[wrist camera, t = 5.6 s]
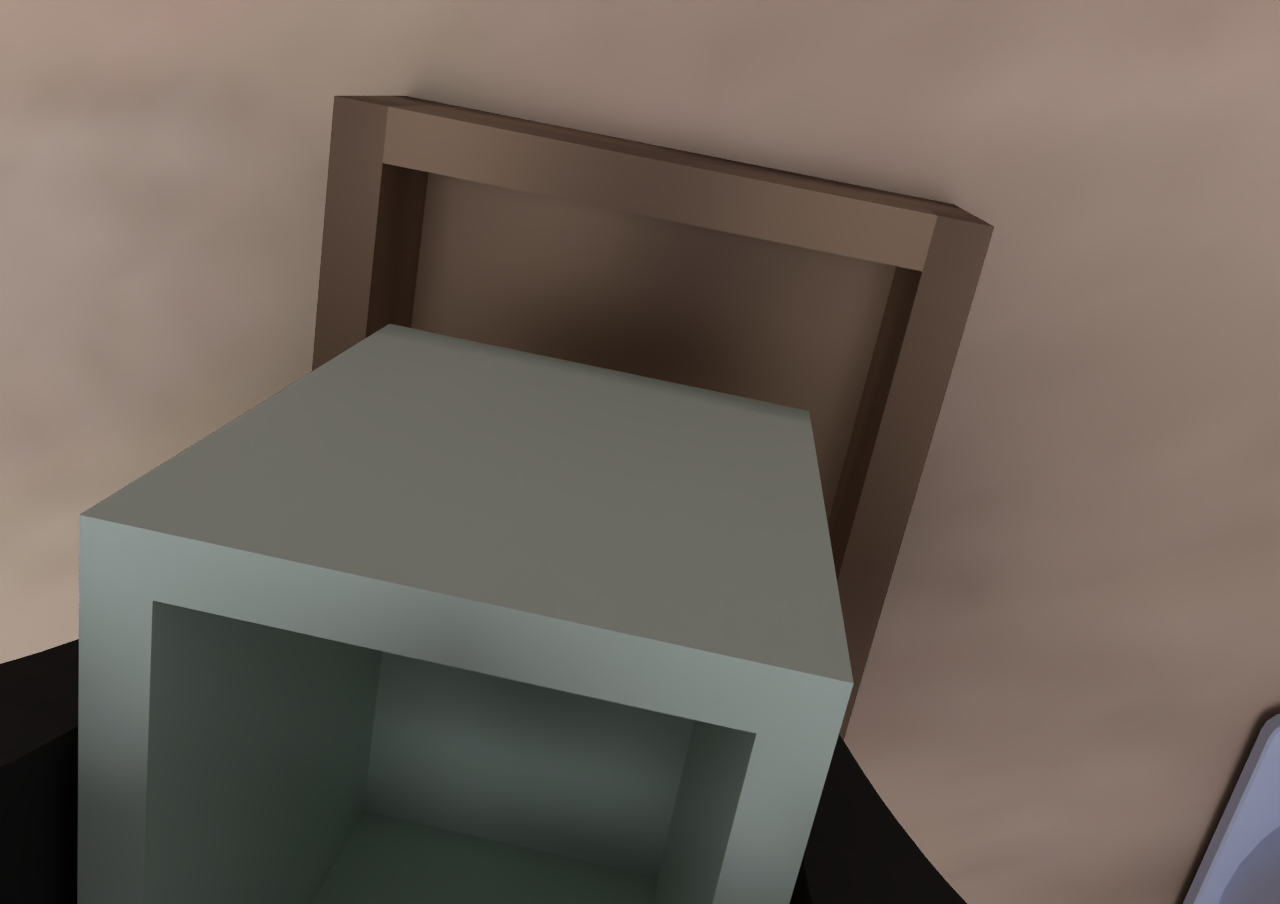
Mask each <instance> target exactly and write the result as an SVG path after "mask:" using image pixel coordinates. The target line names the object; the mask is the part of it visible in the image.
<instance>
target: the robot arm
mask: <svg viewBox="0 0 1280 904" xmlns="http://www.w3.org/2000/svg"><path fill="white" fill-rule="evenodd" d="M78 700H79V639H78V640H75V641H72V642H69V643H66V644H63V645H60V646H57V647H54V648H51V649H48V650H45V651H42V652H39V653H36V654H33V655H29V656H26V657H23V658H20V659H16V660H13V661H9V662H6V663H2V664H0V904H77V880H78ZM789 904H967V903H966V902H965V901H964V900H963V899H962V898H961V897H960V896H959V894H958V893H957V892H956V891H955V890H954V889H953V888H952V887H951V886H950V885H949V884H948V883H947V882H946V880H945V879H944V878H943V877H942V876H941V875H940V873H939V872H938V871H937V870H936V869H935V868H934V866H933V865H932V864H931V863H930V862H929V861H928V859H927V858H926V857H925V856H924V854H923V853H922V852H921V851H920V849H919V848H918V847H917V845H916V844H915V843H914V842H913V840H912V839H911V838H910V836H909V835H908V834H907V833H906V831H905V830H904V829H903V828H902V826H901V825H900V824H899V822H898V821H897V820H896V819H895V817H894V816H893V814H892V813H891V812H890V810H889V809H888V807H887V806H886V805H885V803H884V802H883V801H882V799H881V798H880V796H879V795H878V793H877V792H876V790H875V789H874V787H873V786H872V784H871V783H870V781H869V780H868V779H867V777H866V776H865V774H864V773H863V771H862V769H861V768H860V766H859V765H858V763H857V762H856V760H855V759H854V757H853V755H852V754H851V752H850V750H849V749H848V747H847V746H846V744H845V742H844V741H843V739H842V737H841V736H840V734H839V735H838V739H837V742H836V745H835V749H834V752H833V756H832V759H831V763H830V766H829V769H828V773H827V776H826V780H825V783H824V787H823V790H822V794H821V797H820V800H819V804H818V807H817V811H816V814H815V818H814V821H813V824H812V828H811V831H810V835H809V838H808V842H807V845H806V848H805V852H804V855H803V859H802V862H801V866H800V869H799V872H798V876H797V879H796V883H795V886H794V890H793V893H792V896H791V900H790V903H789ZM1183 904H1280V714H1277V715H1275V716H1274V717H1272V718H1271V719H1269V720H1268V721H1267V722H1266V723H1265V725H1264V726H1263V727H1262V729H1261V731H1260V733H1259V735H1258V738H1257V740H1256V742H1255V744H1254V746H1253V749H1252V751H1251V753H1250V755H1249V758H1248V760H1247V762H1246V764H1245V766H1244V769H1243V771H1242V773H1241V775H1240V778H1239V780H1238V782H1237V784H1236V787H1235V789H1234V791H1233V793H1232V795H1231V798H1230V800H1229V802H1228V804H1227V807H1226V809H1225V811H1224V813H1223V815H1222V818H1221V820H1220V822H1219V824H1218V827H1217V829H1216V831H1215V833H1214V836H1213V838H1212V840H1211V842H1210V844H1209V847H1208V849H1207V851H1206V853H1205V856H1204V858H1203V860H1202V862H1201V864H1200V867H1199V869H1198V871H1197V873H1196V876H1195V878H1194V880H1193V882H1192V884H1191V887H1190V889H1189V891H1188V893H1187V896H1186V898H1185V900H1184V902H1183Z"/></svg>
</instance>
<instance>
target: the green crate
mask: <svg viewBox="0 0 1280 904" xmlns="http://www.w3.org/2000/svg"><path fill="white" fill-rule="evenodd" d="M853 684H854V683H853V677H852V670H851V664H850V658H849V652H848V646H847V640H846V634H845V627H844V621H843V615H842V609H841V603H840V597H839V591H838V585H837V578H836V572H835V566H834V560H833V554H832V548H831V542H830V535H829V529H828V523H827V517H826V511H825V505H824V499H823V492H822V486H821V480H820V474H819V468H818V462H817V456H816V449H815V443H814V437H813V431H812V425H811V419H810V413H809V411H808V410H803V409H798V408H793V407H788V406H784V405H779V404H774V403H769V402H764V401H760V400H755V399H750V398H745V397H740V396H735V395H731V394H726V393H721V392H716V391H711V390H707V389H702V388H697V387H692V386H687V385H682V384H678V383H673V382H668V381H663V380H658V379H654V378H649V377H644V376H639V375H634V374H629V373H625V372H620V371H615V370H610V369H605V368H601V367H596V366H591V365H586V364H581V363H576V362H572V361H567V360H562V359H557V358H552V357H548V356H543V355H538V354H533V353H528V352H524V351H519V350H514V349H509V348H504V347H499V346H495V345H490V344H485V343H480V342H475V341H471V340H466V339H461V338H456V337H451V336H446V335H442V334H437V333H432V332H427V331H422V330H418V329H413V328H408V327H403V326H398V325H393V324H388V325H387V326H385V327H383V328H382V329H380V330H378V331H377V332H375V333H374V334H372V335H370V336H369V337H367V338H365V339H364V340H362V341H361V342H359V343H357V344H356V345H354V346H353V347H351V348H349V349H348V350H346V351H344V352H343V353H341V354H340V355H338V356H336V357H335V358H333V359H331V360H330V361H328V362H327V363H325V364H323V365H322V366H320V367H318V368H317V369H315V370H314V371H312V372H310V373H309V374H307V375H305V376H304V377H302V378H301V379H299V380H297V381H296V382H294V383H292V384H291V385H289V386H288V387H286V388H284V389H283V390H281V391H280V392H278V393H276V394H275V395H273V396H271V397H270V398H268V399H267V400H265V401H263V402H262V403H260V404H258V405H257V406H255V407H254V408H252V409H250V410H249V411H247V412H245V413H244V414H242V415H241V416H239V417H237V418H236V419H234V420H232V421H231V422H229V423H228V424H226V425H224V426H223V427H221V428H220V429H218V430H216V431H215V432H213V433H211V434H210V435H208V436H207V437H205V438H203V439H202V440H200V441H198V442H197V443H195V444H194V445H192V446H190V447H189V448H187V449H185V450H184V451H182V452H181V453H179V454H177V455H176V456H174V457H172V458H171V459H169V460H168V461H166V462H164V463H163V464H161V465H160V466H158V467H156V468H155V469H153V470H151V471H150V472H148V473H147V474H145V475H143V476H142V477H140V478H138V479H137V480H135V481H134V482H132V483H130V484H129V485H127V486H125V487H124V488H122V489H121V490H119V491H117V492H116V493H114V494H112V495H111V496H109V497H108V498H106V499H104V500H103V501H101V502H100V503H98V504H96V505H95V506H93V507H91V508H90V509H88V510H87V511H85V512H83V513H82V514H80V520H79V700H78V880H77V904H789V903H790V900H791V896H792V893H793V890H794V886H795V883H796V879H797V876H798V872H799V869H800V866H801V862H802V859H803V855H804V852H805V848H806V845H807V842H808V838H809V835H810V831H811V828H812V824H813V821H814V818H815V814H816V811H817V807H818V804H819V800H820V797H821V794H822V790H823V787H824V783H825V780H826V776H827V773H828V769H829V766H830V763H831V759H832V756H833V752H834V749H835V745H836V742H837V739H838V735H839V732H840V728H841V725H842V721H843V718H844V715H845V711H846V708H847V704H848V701H849V697H850V694H851V691H852V687H853Z"/></svg>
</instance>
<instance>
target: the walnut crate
mask: <svg viewBox="0 0 1280 904" xmlns="http://www.w3.org/2000/svg"><path fill="white" fill-rule="evenodd" d="M993 229H994V226H992V225H990V224H988V223H986V222H985V221H983V220H981V219H979V218H977V217H976V216H974V215H972V214H970V213H968V212H967V211H965V210H963V209H961V208H959V207H957V206H956V205H953V204H948V203H943V202H938V201H933V200H928V199H923V198H918V197H913V196H908V195H903V194H898V193H893V192H888V191H883V190H878V189H873V188H868V187H862V186H857V185H852V184H847V183H842V182H837V181H832V180H827V179H822V178H817V177H812V176H807V175H802V174H797V173H792V172H787V171H782V170H777V169H772V168H767V167H761V166H756V165H751V164H746V163H741V162H736V161H731V160H726V159H721V158H716V157H711V156H706V155H701V154H696V153H691V152H686V151H681V150H676V149H671V148H665V147H660V146H655V145H650V144H645V143H640V142H635V141H630V140H625V139H620V138H615V137H610V136H605V135H600V134H595V133H590V132H585V131H580V130H575V129H570V128H564V127H559V126H554V125H549V124H544V123H539V122H534V121H529V120H524V119H519V118H514V117H509V116H504V115H499V114H494V113H489V112H484V111H479V110H474V109H469V108H463V107H458V106H453V105H448V104H443V103H438V102H433V101H428V100H423V99H418V98H413V97H408V96H334V107H333V119H332V132H331V144H330V156H329V169H328V181H327V193H326V205H325V218H324V230H323V242H322V255H321V267H320V279H319V291H318V304H317V316H316V328H315V341H314V353H313V365H312V371H314V370H315V369H317V368H318V367H320V366H322V365H323V364H325V363H327V362H328V361H330V360H331V359H333V358H335V357H336V356H338V355H340V354H341V353H343V352H344V351H346V350H348V349H349V348H351V347H353V346H354V345H356V344H357V343H359V342H361V341H362V340H364V339H365V338H367V337H369V336H370V335H372V334H374V333H375V332H377V331H378V330H380V329H382V328H383V327H385V326H387V325H388V324H393V325H398V326H403V327H408V328H413V329H418V330H422V331H427V332H432V333H437V334H442V335H446V336H451V337H456V338H461V339H466V340H471V341H475V342H480V343H485V344H490V345H495V346H499V347H504V348H509V349H514V350H519V351H524V352H528V353H533V354H538V355H543V356H548V357H552V358H557V359H562V360H567V361H572V362H576V363H581V364H586V365H591V366H596V367H601V368H605V369H610V370H615V371H620V372H625V373H629V374H634V375H639V376H644V377H649V378H654V379H658V380H663V381H668V382H673V383H678V384H682V385H687V386H692V387H697V388H702V389H707V390H711V391H716V392H721V393H726V394H731V395H735V396H740V397H745V398H750V399H755V400H760V401H764V402H769V403H774V404H779V405H784V406H788V407H793V408H798V409H803V410H808V411H809V413H810V419H811V425H812V431H813V437H814V443H815V449H816V456H817V462H818V468H819V474H820V480H821V486H822V492H823V499H824V505H825V511H826V517H827V523H828V529H829V535H830V542H831V548H832V554H833V560H834V566H835V572H836V578H837V585H838V591H839V597H840V603H841V609H842V615H843V621H844V627H845V634H846V640H847V646H848V652H849V658H850V664H851V670H852V677H853V683H854V684H853V687H852V691H851V694H850V697H849V701H848V704H847V708H846V711H845V715H844V718H843V721H842V725H841V728H840V732H839V734H840V736H841V737H842V739H843V740H844V737H845V733H846V730H847V726H848V723H849V719H850V716H851V713H852V709H853V706H854V702H855V699H856V696H857V692H858V689H859V685H860V682H861V679H862V675H863V672H864V668H865V665H866V662H867V658H868V655H869V651H870V648H871V644H872V641H873V638H874V634H875V631H876V627H877V624H878V621H879V617H880V614H881V610H882V607H883V604H884V600H885V597H886V593H887V590H888V587H889V583H890V580H891V576H892V573H893V569H894V566H895V563H896V559H897V556H898V552H899V549H900V546H901V542H902V539H903V535H904V532H905V529H906V525H907V522H908V518H909V515H910V512H911V508H912V505H913V501H914V498H915V494H916V491H917V488H918V484H919V481H920V477H921V474H922V471H923V467H924V464H925V460H926V457H927V454H928V450H929V447H930V443H931V440H932V436H933V433H934V430H935V426H936V423H937V419H938V416H939V413H940V409H941V406H942V402H943V399H944V396H945V392H946V389H947V385H948V382H949V379H950V375H951V372H952V368H953V365H954V361H955V358H956V355H957V351H958V348H959V344H960V341H961V338H962V334H963V331H964V327H965V324H966V321H967V317H968V314H969V310H970V307H971V304H972V300H973V297H974V293H975V290H976V286H977V283H978V280H979V276H980V273H981V269H982V266H983V263H984V259H985V256H986V252H987V249H988V246H989V242H990V239H991V235H992V232H993Z"/></svg>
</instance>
